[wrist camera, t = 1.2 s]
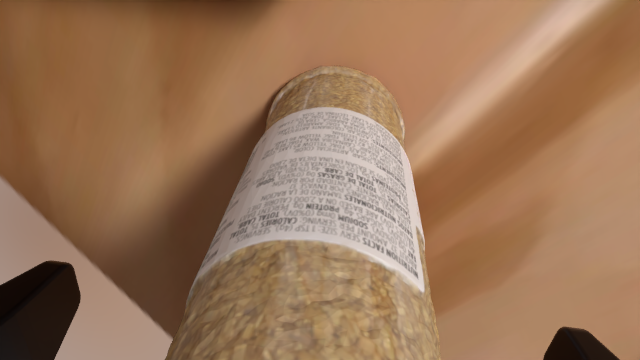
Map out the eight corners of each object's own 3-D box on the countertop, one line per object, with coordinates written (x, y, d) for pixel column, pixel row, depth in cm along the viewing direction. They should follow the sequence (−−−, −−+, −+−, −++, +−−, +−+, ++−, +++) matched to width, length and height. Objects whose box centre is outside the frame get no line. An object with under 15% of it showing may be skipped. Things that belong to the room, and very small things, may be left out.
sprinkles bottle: (363, 204, 16) (365, 903, 5) (247, 153, 16) (-66, 834, 4) (432, 98, 14) (740, 952, 3) (300, 32, 13) (-76, 819, 2)
